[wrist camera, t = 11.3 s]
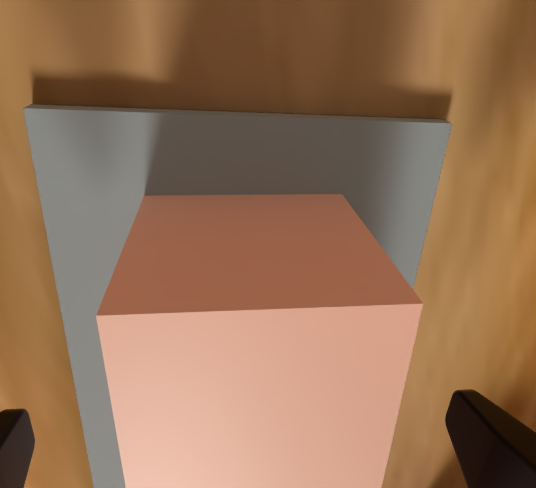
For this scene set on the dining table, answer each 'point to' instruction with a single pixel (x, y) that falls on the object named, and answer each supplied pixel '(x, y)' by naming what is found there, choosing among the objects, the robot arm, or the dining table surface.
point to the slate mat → (206, 183)
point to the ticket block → (255, 344)
